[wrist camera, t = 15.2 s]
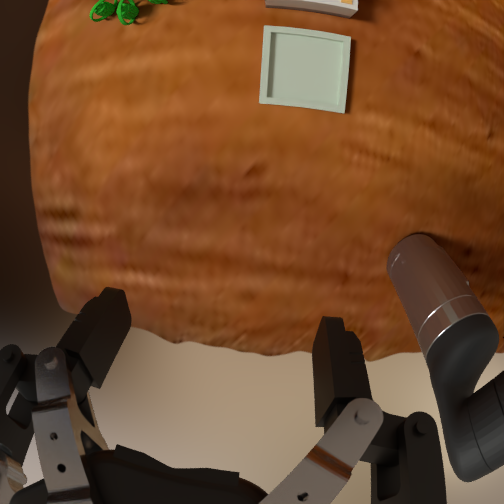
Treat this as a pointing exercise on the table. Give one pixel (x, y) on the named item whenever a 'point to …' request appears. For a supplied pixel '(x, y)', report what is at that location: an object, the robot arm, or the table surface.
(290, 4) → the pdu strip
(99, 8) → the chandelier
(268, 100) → the sage tray
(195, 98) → the table surface
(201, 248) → the table surface
